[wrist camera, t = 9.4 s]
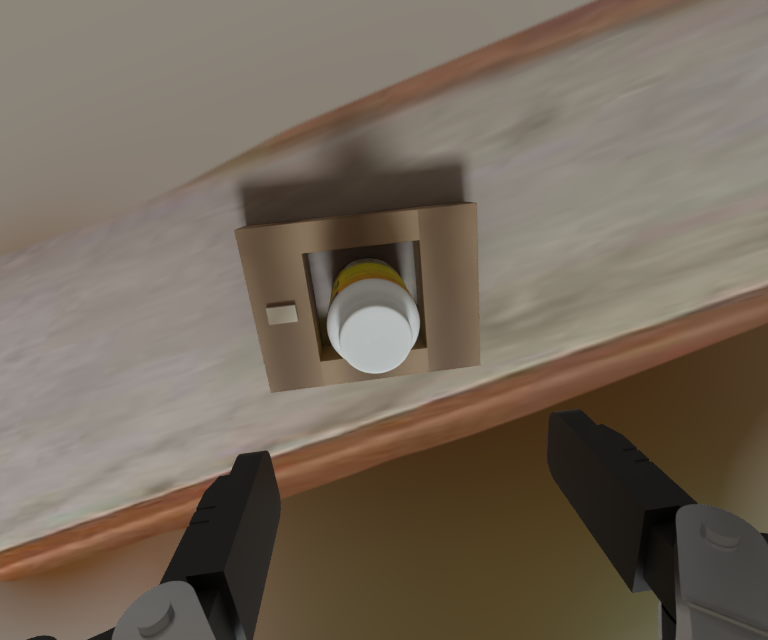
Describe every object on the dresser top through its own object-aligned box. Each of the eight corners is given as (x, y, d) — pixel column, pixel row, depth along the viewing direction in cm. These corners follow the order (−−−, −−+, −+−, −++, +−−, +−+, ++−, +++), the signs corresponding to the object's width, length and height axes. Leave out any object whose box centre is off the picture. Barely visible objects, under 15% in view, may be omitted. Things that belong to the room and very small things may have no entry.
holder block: (463, 201, 28) (478, 202, 25) (468, 349, 32) (481, 366, 29) (246, 225, 28) (232, 230, 24) (278, 374, 32) (270, 394, 28)
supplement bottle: (329, 258, 29) (318, 292, 19) (402, 254, 29) (428, 286, 20) (335, 328, 31) (328, 391, 21) (404, 323, 31) (428, 383, 21)
